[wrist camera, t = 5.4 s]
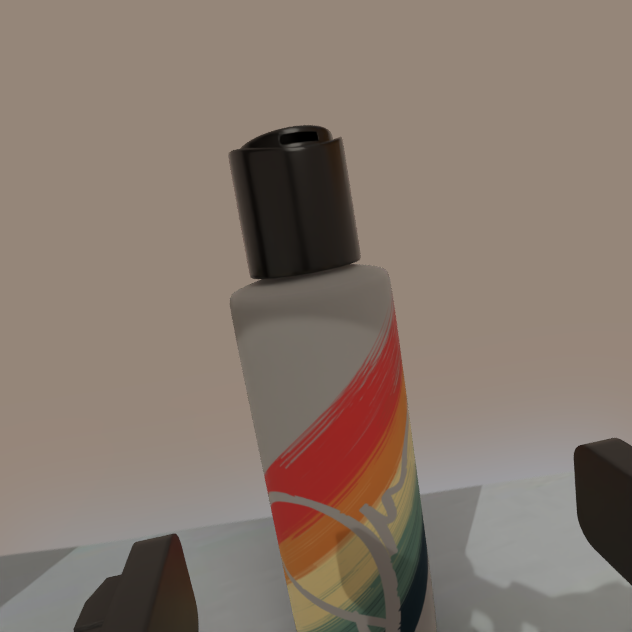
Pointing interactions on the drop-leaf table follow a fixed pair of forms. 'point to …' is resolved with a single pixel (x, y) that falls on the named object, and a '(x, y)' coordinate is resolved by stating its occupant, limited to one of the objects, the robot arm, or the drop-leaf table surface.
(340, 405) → the lotion bottle
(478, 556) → the drop-leaf table surface
